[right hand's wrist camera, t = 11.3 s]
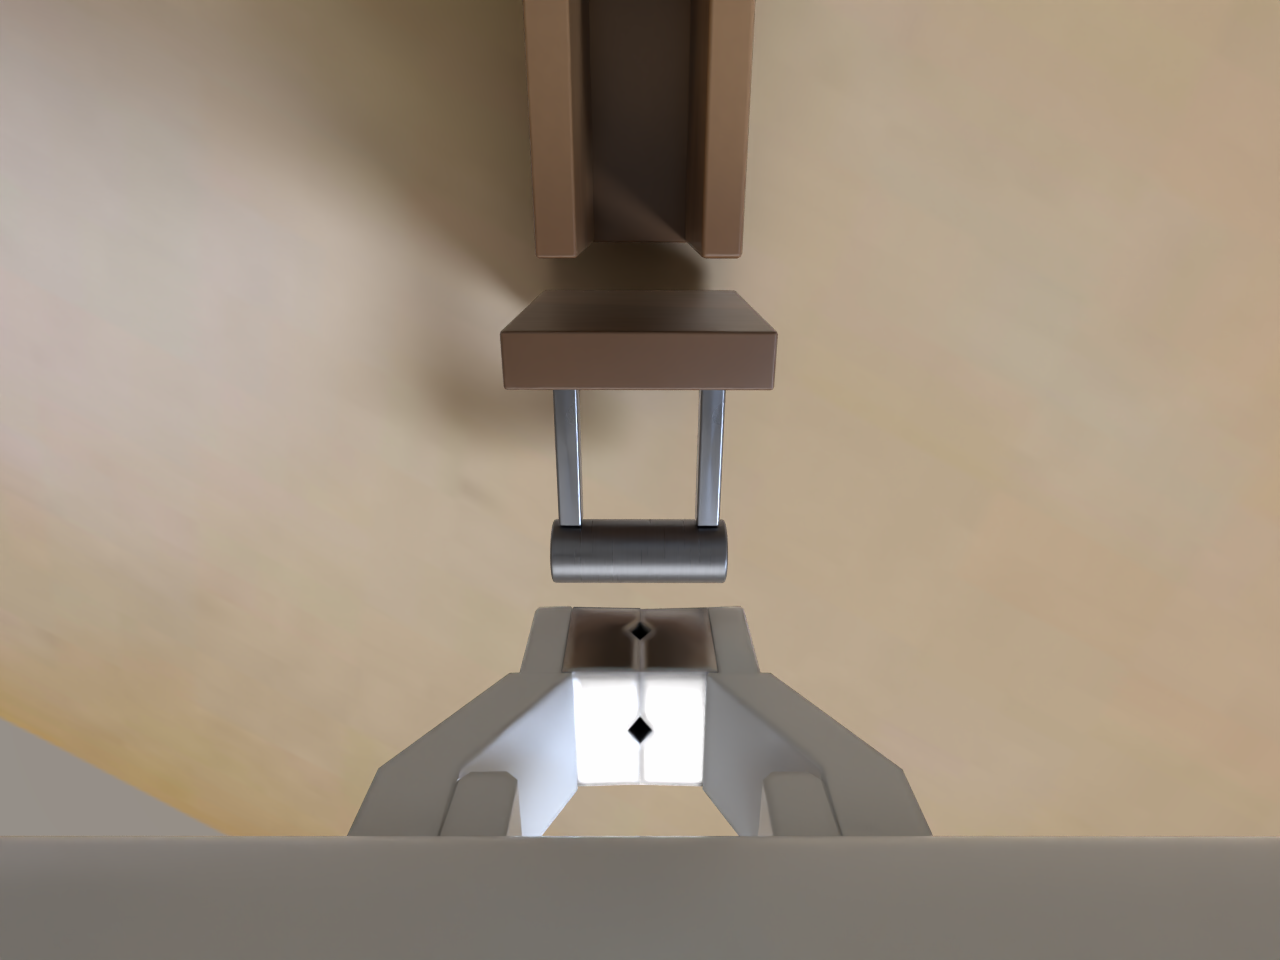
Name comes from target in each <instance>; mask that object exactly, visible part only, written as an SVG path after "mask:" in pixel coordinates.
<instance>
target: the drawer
mask: <svg viewBox="0 0 1280 960" xmlns="http://www.w3.org/2000/svg"><path fill="white" fill-rule="evenodd" d="M523 16H524V35H525V54H526V74H527V93H528V113H529V132H530V152H531V171H532V191H533V210H534V230H535V249H536V256H537V257H538V258H575V257H577V256H578V255H579V254H580V253H581V252H582V251H584V250H585V249H586V248H587V247H588V246H589V245H590V244H591V243H592V242H687V243H688V244H689V245H690V246H691V247H692V248H694V249H695V250H696V251H697V252H698V253H699V254H700V255H701V256H702V257H704V258H739V257H741V254H742V244H743V225H744V206H745V187H746V168H747V149H748V130H749V111H750V92H751V73H752V54H753V35H754V16H755V0H523ZM777 339H778V334H777V332H776V331H775V330H774V329H773V328H772V327H771V326H770V325H769V324H768V323H767V322H766V321H765V320H764V319H763V318H762V317H761V316H760V315H759V314H758V313H757V312H756V311H755V310H754V309H753V308H752V307H751V306H750V305H749V304H748V303H747V302H746V301H745V300H744V299H743V298H742V297H741V296H740V295H739V294H738V293H737V292H736V291H723V290H545V291H543V292H542V293H541V294H540V295H539V296H538V297H537V298H536V299H535V300H534V301H533V302H532V303H531V304H530V305H528V306H527V307H526V308H525V309H524V310H523V311H522V312H521V313H520V314H519V315H518V316H517V317H516V318H515V319H514V320H513V321H512V322H511V323H509V324H508V325H507V326H506V327H505V328H504V329H503V330H502V331H501V333H500V341H501V355H502V369H503V383H504V388H505V389H507V390H553V404H554V425H555V447H556V469H557V491H558V513H559V519H556V520H554V522H553V525H552V531H551V543H550V565H551V575H552V579H553V581H554V582H556V583H723V582H725V580H726V576H727V566H728V541H727V530H726V525H725V522H724V520H719V518H720V497H721V476H722V454H723V433H724V412H725V391H726V390H772V389H773V388H774V379H775V366H776V352H777ZM579 390H699V414H698V444H697V474H696V504H695V519H696V520H671V519H583V493H582V461H581V430H580V398H579Z"/></svg>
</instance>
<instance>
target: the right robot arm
mask: <svg viewBox="0 0 1280 960" xmlns="http://www.w3.org/2000/svg"><path fill="white" fill-rule="evenodd" d="M637 784H640V785H677V786H703V790H704V792H705V793H706V794H707V795H708V797H709V798H710V799H711V801H712V802H713V803H714V804H715V806H716V807H717V808H718V810H719V811H720V812H721V813H722V815H723V816H724V817H725V819H726V820H727V821H728V822H729V824H730V825H731V826H732V828H733V829H734V830H735V831H736V833H737V834H738V835H739V836H542V834H543V833H544V832H545V831H546V829H547V828H548V827H549V826H550V824H551V823H552V822H553V820H554V819H555V818H556V817H557V815H558V814H559V813H560V811H561V810H562V809H563V808H564V806H565V805H566V804H567V802H568V801H569V800H570V799H571V797H572V796H573V795H574V794H575V792H576V791H577V786H602V785H637ZM0 960H1280V836H933V835H932V833H931V831H930V828H929V826H928V824H927V822H926V820H925V818H924V815H923V813H922V811H921V809H920V807H919V804H918V802H917V800H916V798H915V796H914V794H913V791H912V789H911V787H910V785H909V783H908V781H907V778H906V776H905V774H904V772H903V770H902V769H901V768H900V767H898V766H897V765H896V764H894V763H893V762H891V761H890V760H889V759H887V758H886V757H885V756H883V755H882V754H881V753H879V752H878V751H876V750H875V749H874V748H872V747H871V746H870V745H868V744H867V743H865V742H864V741H863V740H861V739H860V738H859V737H857V736H856V735H855V734H853V733H852V732H850V731H849V730H848V729H846V728H845V727H844V726H842V725H841V724H840V723H838V722H837V721H835V720H834V719H833V718H831V717H830V716H829V715H827V714H826V713H825V712H823V711H822V710H820V709H819V708H818V707H816V706H815V705H814V704H812V703H811V702H809V701H808V700H807V699H805V698H804V697H803V696H801V695H800V694H799V693H797V692H796V691H794V690H793V689H792V688H790V687H789V686H788V685H786V684H785V683H784V682H782V681H781V680H779V679H778V678H777V677H775V676H774V675H773V674H771V673H760V669H759V665H758V661H757V658H756V654H755V650H754V646H753V642H752V638H751V635H750V631H749V627H748V623H747V619H746V615H745V611H744V609H743V608H742V607H741V606H733V607H708V608H667V609H640V608H601V607H573V608H572V607H571V606H570V607H539V608H538V609H537V610H536V611H535V615H534V618H533V622H532V626H531V630H530V634H529V638H528V642H527V646H526V650H525V653H524V657H523V661H522V665H521V669H520V673H509V674H507V675H506V676H505V677H503V678H502V679H501V680H499V681H498V682H496V683H495V684H494V685H492V686H491V687H490V688H488V689H487V690H485V691H484V692H483V693H481V694H480V695H479V696H477V697H476V698H475V699H473V700H472V701H470V702H469V703H468V704H466V705H465V706H464V707H462V708H461V709H459V710H458V711H457V712H455V713H454V714H453V715H451V716H450V717H448V718H447V719H446V720H444V721H443V722H442V723H440V724H439V725H437V726H436V727H435V728H433V729H432V730H431V731H429V732H428V733H426V734H425V735H424V736H422V737H421V738H420V739H418V740H417V741H415V742H414V743H413V744H411V745H410V746H409V747H407V748H406V749H405V750H403V751H402V752H400V753H399V754H398V755H396V756H395V757H394V758H392V759H391V760H389V761H388V762H387V763H385V764H384V765H383V766H381V767H380V768H378V771H377V773H376V775H375V777H374V779H373V781H372V783H371V786H370V788H369V790H368V792H367V794H366V796H365V798H364V801H363V803H362V805H361V807H360V809H359V811H358V813H357V816H356V818H355V820H354V822H353V824H352V826H351V828H350V831H349V833H348V835H347V836H0Z"/></svg>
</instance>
